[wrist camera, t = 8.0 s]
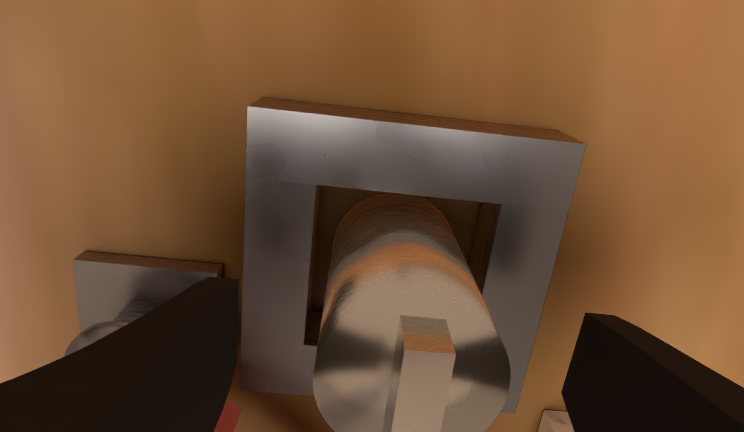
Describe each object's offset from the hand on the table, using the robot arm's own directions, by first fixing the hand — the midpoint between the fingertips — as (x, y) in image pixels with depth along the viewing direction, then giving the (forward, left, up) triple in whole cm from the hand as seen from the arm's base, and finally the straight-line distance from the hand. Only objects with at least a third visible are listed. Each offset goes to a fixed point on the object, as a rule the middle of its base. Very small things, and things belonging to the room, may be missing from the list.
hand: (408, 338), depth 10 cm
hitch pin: (0, 0, -5) cm, 5 cm away
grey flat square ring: (0, 0, -5) cm, 5 cm away
